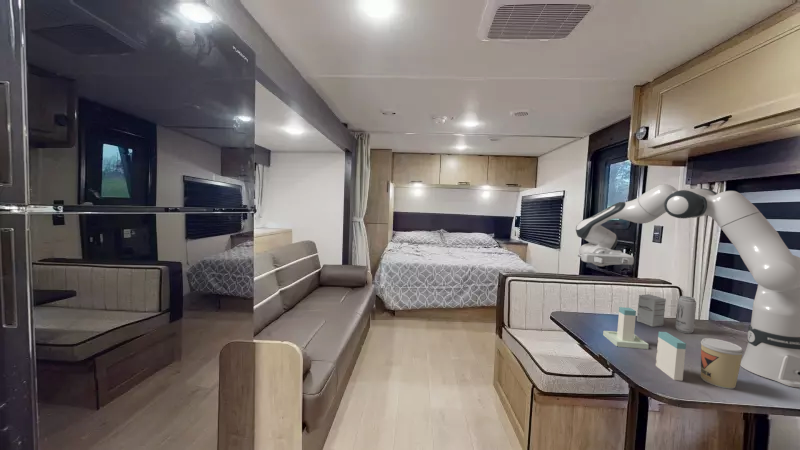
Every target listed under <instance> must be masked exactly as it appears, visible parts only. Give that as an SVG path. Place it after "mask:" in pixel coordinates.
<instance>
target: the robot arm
mask: <svg viewBox="0 0 800 450" xmlns="http://www.w3.org/2000/svg"><path fill="white" fill-rule="evenodd" d="M666 213H667V214H668V215H669V216H671V217H673V218H677V219H690V218H700V217H704V216H708V217H710V218H712V219H713V221H715V223H716V224H717V225H718V226H719V228H720V229H721V231H723V233H724V234H725V236H726V237H727V238H728V240H729V241H730V243H731V244H732V245H733V246H734V248H735V249H736V251H737V252H738V254H739V256H740V258H741V259H742V261H743V263H744V265H745V267H746V268H747V270H748V271H749V272H750V274H751V275H752V277H753V279H754V281H755V282H756V283H757V289H756V292H755V296H754V300H753V302H752V311H751V312H752V313H751V320H750V324H749V325H748V330H747V345H746V348H745V351H744V353H743V355H742V359H741V364H740V367H742V368H743V369H745V370H746V371H749V372H750V373H752V374H755V375H758V376H761V377H762V378H764V379H765V378H766V379H770V380H773V381H775V382H778V383H780V384H782V385H785V386H788V387H793V388H799V389H800V256H798V255H794V254H793V253H792V252H791V250H790V249H789V247H788V246H787V245H786V243H785V242H784V240H783V239H782V237H781V236H780V234H779V232H778V231H777V230H776V228H775V227H774V226H773V225H772V224H771V223H770V222H769V221H768V219H767V218H766V217H765V216H764V215H763V213H762V212H761V210H759V209H758V208H757V207H756V206H755V204H753V202H751V201H750V200H749V199H748V198H747V197H745V196H744V195H743V194H741V193H740V192H738V191H736V190H724V191H722V192H719V193H717V191H714V190H712V189H709V188H687V189H683V190H682V189H681V190H678V189H677V188H675V187H674V186H672V185H670V184H668V183H667V184H666V183H662V184H658V185H656V186H654V187H652V188H650V189H649V190H647V191H646V192H644V193H642V194H640V195H639V196H638V197H637V198H635V199H632V200H628V201H620V202H617V203H615V204H612V205H610V206H608V207H606V208H605V209H603V210H601V211H600V212H597V213H596V214H594V215H592V216H590V217H587V218H584V219H582V220H581V221H579V222H578V223H577V224H576V227H575V233H576V236H577V237H578V238H580V239H582V240H585V241H586V242H588V243H584V244H582V245H581V246H579V249H578V253H579V254H578V255H577V257H578V258H580V260H581V262H584V263H589V264H590V263H591V264H593V265H595V266H598V267H605V266H606V267H607V266H613V265H615V266H617V265H619V266H620V265H628V266H630V265H634V262H635V258H634V256H633V255H631V254H628V253H626V252H622V250H619V249H615V248H616V246H617V244H618V236H617V234H616V233H615V232H613V231H611V230H610V229H608V228H606V227H605V226H603V225H602V224H605V223H606V222H608V221H610V220H611V221H612V220H615V219H616V220H617V219H618V220H622V221H623V220H624V221H628V222H632V223H634V224H648V223H651V222H653V221H655V220H657V219H658V218H660V217H661V216H662V215H664V214H666Z"/></svg>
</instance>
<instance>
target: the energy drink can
mask: <svg viewBox="0 0 800 450" xmlns="http://www.w3.org/2000/svg"><path fill="white" fill-rule="evenodd" d="M696 310H697V302H696V299H695V297H692V296H687V295H680V296H679V298H678V299H677V308H676V317H675V318H676V319H675V328H676V331H678V332H680V333H684V334H692V333H693V332H694V329H695V322H696V312H697V311H696Z"/></svg>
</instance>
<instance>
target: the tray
mask: <svg viewBox="0 0 800 450" xmlns="http://www.w3.org/2000/svg"><path fill="white" fill-rule="evenodd" d="M602 333H603V334H602V335H603V336H604V337H605V338H606V339H607V340H608V341H609V342H611V343H612V344H613V345H614V346H616V347H617V346H618V347H619V348H629V349H631V348H632V349H640V350H641V349H642V350H644V349H645V350H649V343H647V342H646V341H644V339H642V338H641V337H639V336H638V335H637V334H635V333H634V341H622V340H621V339H620V338H618V337H617V331H615V330H614V331H613V330H603V332H602Z"/></svg>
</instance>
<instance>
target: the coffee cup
mask: <svg viewBox="0 0 800 450" xmlns="http://www.w3.org/2000/svg"><path fill="white" fill-rule="evenodd" d="M700 344H701V346H700V377H701V379H702V380H703V381H705V382H706V383H708V384H710V385H712V386H716V387H719V388H723V389H729V390H733V389H735V388H736V385H737V383H738V378H739V372H740V368H741V365H740V364H741V360H742V358H743V355H744V350H743V348H742V347H741V346H740V345H738V344H735V343H734V342H730V341H726V340H722V339H719V338H718V339H717V338H712V337H711V338H709V337H707V338H706V337H705V338H702V340H700Z"/></svg>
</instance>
